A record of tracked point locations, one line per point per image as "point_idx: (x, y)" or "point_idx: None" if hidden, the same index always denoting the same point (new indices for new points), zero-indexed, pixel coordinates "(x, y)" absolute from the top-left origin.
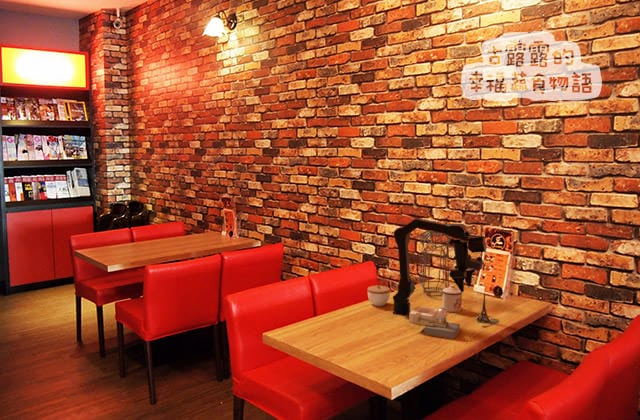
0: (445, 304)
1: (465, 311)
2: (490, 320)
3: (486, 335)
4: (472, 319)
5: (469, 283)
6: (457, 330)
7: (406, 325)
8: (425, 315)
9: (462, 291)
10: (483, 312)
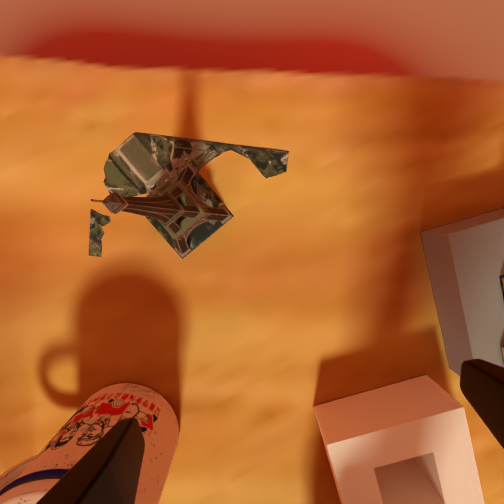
0: (168, 471)
1: (107, 360)
2: (153, 184)
3: (394, 91)
4: (204, 268)
5: (116, 475)
6: (486, 217)
7: (498, 459)
8: (470, 442)
9: (480, 372)
10: (184, 206)
